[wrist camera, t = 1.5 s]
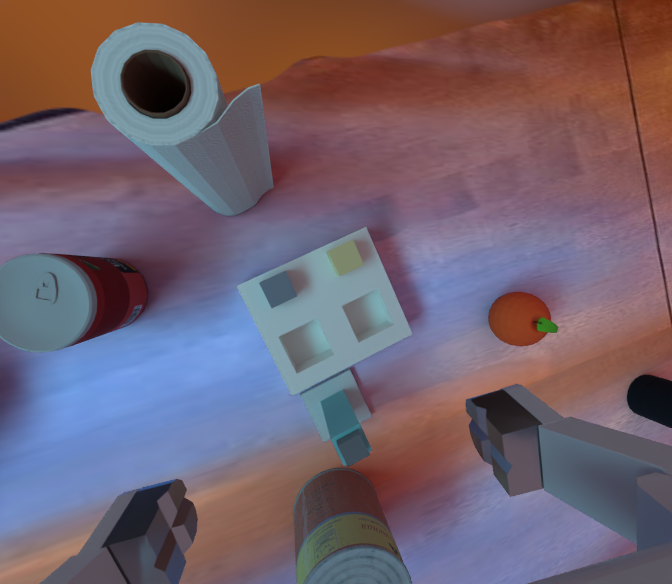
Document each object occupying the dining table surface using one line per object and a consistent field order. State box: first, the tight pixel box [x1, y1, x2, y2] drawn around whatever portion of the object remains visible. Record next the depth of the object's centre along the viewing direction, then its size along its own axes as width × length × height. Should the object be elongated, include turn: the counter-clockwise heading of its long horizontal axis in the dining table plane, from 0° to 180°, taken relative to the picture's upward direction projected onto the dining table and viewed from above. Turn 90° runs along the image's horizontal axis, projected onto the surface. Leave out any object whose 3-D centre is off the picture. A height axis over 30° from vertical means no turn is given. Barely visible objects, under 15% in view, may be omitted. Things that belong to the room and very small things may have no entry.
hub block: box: [237, 227, 412, 396], centre depth 37 cm, size 14×16×6 cm
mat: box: [300, 369, 372, 442], centre depth 40 cm, size 7×7×1 cm
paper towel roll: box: [91, 23, 274, 216], centre depth 26 cm, size 7×6×21 cm
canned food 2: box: [293, 468, 412, 584], centre depth 36 cm, size 11×11×12 cm
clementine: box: [488, 292, 558, 346], centre depth 40 cm, size 8×7×7 cm
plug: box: [320, 390, 372, 467], centre depth 35 cm, size 3×3×10 cm
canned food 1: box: [0, 253, 148, 353], centre depth 30 cm, size 8×8×11 cm
